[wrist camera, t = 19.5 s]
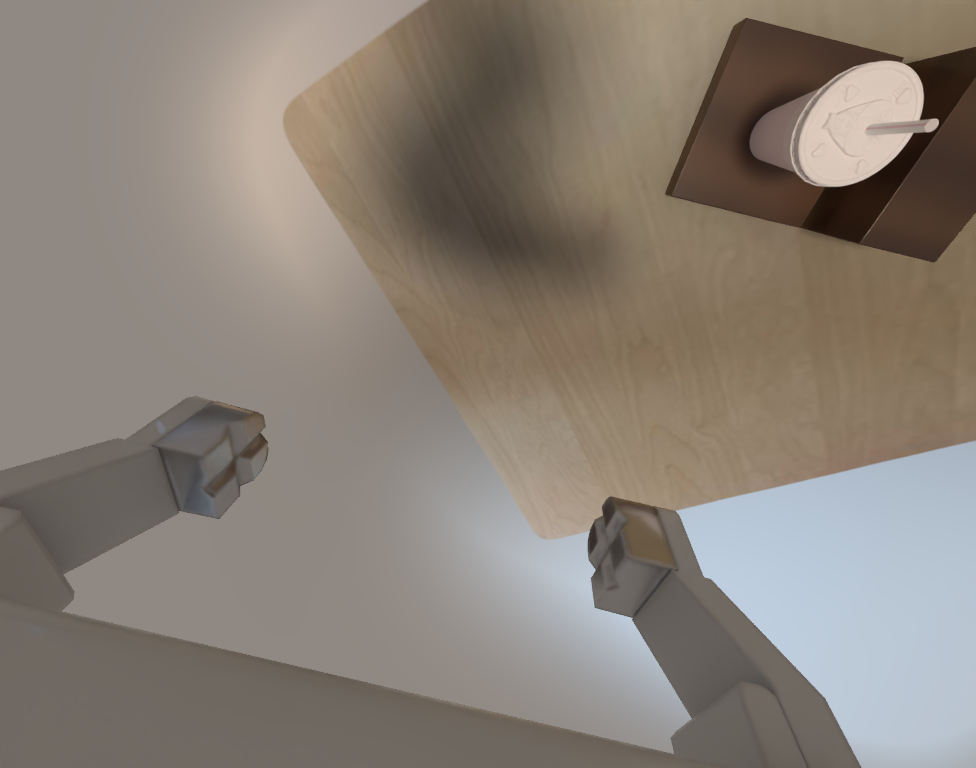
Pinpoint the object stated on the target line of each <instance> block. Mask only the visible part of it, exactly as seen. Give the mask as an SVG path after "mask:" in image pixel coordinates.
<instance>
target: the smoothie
mask: <svg viewBox="0 0 976 768" xmlns="http://www.w3.org/2000/svg"><path fill="white" fill-rule="evenodd" d="M923 102H924V93H923V86H922V83H921V80H920V78H919V77H918V75H917V74H916V72H915V71H914V70H913V69H912V68H910V67H909V66H907V65H905V64H903V63H900V62H896V61H879V62H870V63H866V64H862V65H858V66H854V67H852V68H850V69H848V70H846V71H844V72H842V73H840V74H839V75H837V76H835V77H834V78H833V79H832V80H830V81H829V82H828V83H826V84H825V85H824V86H823V87H821V88H819V89H817V90H815V91H813V92H810V93H808V94H806V95H804V96H802V97H799V98H797V99H795V100H793V101H791V102H789V103H786V104H784V105H782V106H780V107H778V108H775V109H773V110H771V111H769V112H768V113H766V114H765V115H764V116H763V117H762V118H761V119H760V120H759V121H758V122H757V124H756V125H755V127H754V128H753V131H752V133H751V136H750V150H751V152H752V154H753V155H754V156H755V157H756V158H757V159H759V160H762V161H764V162H767V163H770V164H773V165H776V166H778V167H781V168H784V169H787V170H790V171H792V172H795V173H796V174H797V175H798V176H800V177H801V178H802V179H803V180H804V181H805V182H807V183H810V184H812V185H815V186H823V187H839V186H846V185H850V184H854V183H857V182H859V181H862V180H864V179H866V178H868V177H870V176H872V175H873V174H875V173H876V172H878V171H879V170H881V169H882V168H883V167H885V166H886V165H887V164H888V163H889V162H891V161H892V160H893V159H894V158H895V157H896V156H897V155H898V154H899V152H900V151H901V150H902V149H903V148H904V146H905V145H906V144H907V142H908V141H909V139H910V138H911V136H912V134H913V133H921V132H931V131H933V130H935V129H936V128H937V126H938V124H939V121H938V119H927V120H920V116H921V113H922V109H923Z"/></svg>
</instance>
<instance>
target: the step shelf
mask: <svg viewBox="0 0 976 768" xmlns="http://www.w3.org/2000/svg"><path fill="white" fill-rule="evenodd" d="M902 60H903V57H899V56H895V55H891V54H887V53H884V52H880V51H876V50H872V49H868V48H864V47H860V46H856V45H852V44H848V43H844V42H840V41H836V40H832V39H828V38H824V37H820V36H816V35H812V34H808V33H804V32H800V31H796V30H792V29H788V28H784V27H780V26H776V25H772V24H768V23H764V22H760V21H756V20H752V19H748V18H745V19H744V20H742V21H741V22H739V23H738V24H736V25H735V26H734V28H733V30H732V33H731V35H730V37H729V40H728V42H727V45H726V47H725V50H724V52H723V55H722V57H721V59H720V62H719V64H718V67H717V69H716V72H715V74H714V76H713V79H712V81H711V84H710V86H709V89H708V91H707V94H706V96H705V98H704V101H703V103H702V106H701V108H700V111H699V113H698V115H697V118H696V120H695V123H694V125H693V128H692V130H691V132H690V135H689V137H688V140H687V142H686V145H685V147H684V150H683V152H682V154H681V157H680V159H679V162H678V164H677V167H676V169H675V171H674V174H673V176H672V179H671V181H670V184H669V186H668V189H667V191H666V193H665V194H666V195H669V196H673V197H677V198H681V199H685V200H689V201H693V202H697V203H701V204H705V205H709V206H713V207H717V208H721V209H726V210H730V211H734V212H738V213H742V214H746V215H750V216H754V217H758V218H762V219H766V220H770V221H774V222H778V223H782V224H786V225H790V226H795V227H799V228H804V229H807V230H811V231H814V232H818V233H822V234H825V235H829V236H832V237H836V238H839V239H843V240H847V241H850V242H854V243H857V244H861V245H865V246H869V247H873V248H877V249H881V250H885V251H889V252H893V253H898V254H902V255H906V256H910V257H914V258H918V259H922V260H926V261H930V262H935V261H936V260H937V259H938V258H939V257H940V255H941V254H942V253H943V252H944V250H945V249H946V248H947V247H948V246H949V244H950V243H951V242H952V241H953V239H954V238H955V237H956V236H957V235H958V233H959V232H960V231H961V230H962V228H963V227H964V226H965V225H966V224H967V222H968V221H969V220H970V219H971V217H972V216H973V215H974V214H975V213H976V47H973V48H969V49H965V50H961V51H957V52H953V53H949V54H944V55H940V56H936V57H932V58H928V59H924V60H920V61H916V62H912V63H908V64H905V65H907V66H909V67H910V68H912V69H913V70H914V71H915V72H916V74H917V75H918V77H919V78H920V80H921V83H922V86H923V93H924V102H923V109H922V113H921V116H920V120H927V119H938V121H939V124H938V126H937V128H936V129H935V130H933V131H931V132H921V133H913V134H912V136H911V138H910V139H909V141H908V142H907V144H906V145H905V146H904V148H903V149H902V150H901V151H900V152H899V154H898V155H897V156H896V157H895V158H894V159H893V160H892V161H891V162H889V163H888V164H887V165H886V166H885V167H883V168H882V169H881V170H879V171H878V172H876V173H875V174H873V175H872V176H870V177H868V178H866V179H864V180H862V181H859V182H857V183H854V184H850V185H846V186H839V187H823V186H815V185H812V184H810V183H807V182H805V181H804V180H803V179H802V178H801V177H800V176H798V175H797V174H796V173H795V172H792V171H790V170H787V169H784V168H781V167H778V166H776V165H773V164H770V163H767V162H764V161H762V160H759V159H757V158H756V157H755V156H754V155H753V154H752V152H751V150H750V136H751V133H752V131H753V128H754V127H755V125H756V124H757V122H758V121H759V120H760V119H761V118H762V117H763V116H764V115H765V114H766V113H768V112H769V111H771V110H773V109H775V108H778V107H780V106H782V105H784V104H786V103H789V102H791V101H793V100H795V99H797V98H799V97H802V96H804V95H806V94H808V93H810V92H813V91H815V90H817V89H819V88H821V87H823V86H824V85H825V84H826V83H828V82H829V81H830V80H832V79H833V78H834V77H835V76H837V75H839V74H840V73H842V72H844V71H846V70H848V69H850V68H852V67H854V66H858V65H862V64H866V63H870V62H879V61H896V62H900V63H901V62H902Z"/></svg>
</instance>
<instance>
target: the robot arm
mask: <svg viewBox="0 0 976 768" xmlns="http://www.w3.org/2000/svg"><path fill="white" fill-rule="evenodd" d="M264 428H265V420H264V416H263V415H262V414H260V413H258V412H255V411H251V410H247V409H243V408H240V407H236V406H232V405H228V404H225V403H221V402H215V401H211V400H207V399H204V398H200V397H196V396H194V397H189V398H186V399H185V400H183V401H181V402H180V403H178V404H177V405H176V406H174V407H173V408H171V409H170V410H168V411H167V412H165V413H164V414H162V415H161V416H159V417H158V418H156V419H155V420H153V421H152V422H150V423H149V424H147V425H146V426H145V427H143V428H142V429H140V430H139V431H137V432H136V433H134V434H133V435H131V436H130V437H128V438H127V439H125V440H123V439H118V438H117V439H113V440H109V441H106V442H103V443H99V444H95V445H91V446H88V447H84V448H81V449H77V450H74V451H70V452H66V453H63V454H59V455H56V456H52V457H49V458H45V459H42V460H38V461H34V462H31V463H28V464H24V465H20V466H16V467H13V468H9V469H6V470H3V471H0V768H861V766H860V764H859V762H858V760H857V759H856V757H855V755H854V753H853V751H852V749H851V747H850V745H849V743H848V742H847V739H846V738H845V736H844V734H843V732H842V730H841V728H840V726H839V724H838V722H837V721H836V718H835V717H834V715H833V713H832V711H831V709H830V708H829V705H828V703H827V701H826V699H825V698H824V697H823V696H822V695H821V694H820V693H819V692H818V691H817V690H816V689H815V687H814V686H813V685H811V683H810V682H808V680H807V679H806V678H805V677H804V676H803V675H802V674H801V673H800V672H799V671H798V670H797V669H796V668H795V667H794V666H793V665H792V663H791V662H790V661H789V660H788V659H787V658H786V657H785V656H784V655H783V654H782V653H781V652H780V651H779V650H778V649H777V648H776V647H775V646H774V645H773V644H772V643H771V642H770V640H769V639H767V637H766V636H765V635H764V634H763V633H762V632H761V631H760V630H759V629H758V628H757V627H756V626H755V625H754V624H753V623H752V622H751V621H750V620H749V619H748V618H747V617H746V615H745V614H744V613H743V612H742V611H741V610H740V609H739V608H738V607H737V606H736V605H735V604H734V603H733V602H732V601H731V600H730V599H729V598H728V597H727V596H726V595H725V594H724V592H722V591H721V589H720V588H718V587H717V585H716V584H715V583H714V582H713V581H712V580H711V579H708V578H704V576H703V574H702V572H701V569H700V566H699V564H698V561H697V559H696V556H695V554H694V551H693V549H692V546H691V544H690V541H689V539H688V537H687V534H686V531H685V529H684V526H683V524H682V521H681V519H680V516H679V515H678V514H677V512H676V511H673V510H669V509H664V508H660V507H656V506H650V505H646V504H642V503H637V502H633V501H629V500H624V499H620V498H616V497H611V496H610V497H609V498H608V499H606V501H605V502H604V504H603V506H602V511H603V516H601V517H599V518H597V519H595V521H594V523H593V525H592V527H591V529H590V533H589V538H588V557H589V561H590V562H591V564H592V565H593V566H594V568H595V569H596V571H595V573H594V574H593V576H592V578H591V582H592V590H593V598H594V605H595V608H598V609H601V610H605V611H609V612H613V613H616V614H620V615H624V616H628V617H631V618H633V619H632V620H633V622H634V624H635V625H636V627H637V629H638V630H639V632H640V634H641V635H642V637H643V639H644V640H645V642H646V644H647V645H648V647H649V648H650V650H651V652H652V653H653V655H654V657H655V658H656V660H657V662H658V663H659V665H660V667H661V668H662V670H663V672H664V673H665V675H666V677H667V678H668V680H669V682H670V683H671V685H672V686H673V688H674V690H675V691H676V693H677V695H678V696H679V698H680V700H681V701H682V703H683V704H684V706H685V708H686V709H687V711H688V713H689V715H690V716H691V718H692V719H691V720H690V721H689V722H687V723H686V724H685V725H683V726H682V727H681V728H680V729H678V730H677V731H676V732H675V733H674V735H673V736H672V737H671V741H672V745H673V750H674V754H671V753H666V752H662V751H658V750H653V749H649V748H645V747H641V746H637V745H632V744H628V743H624V742H619V741H615V740H610V739H607V738H602V737H598V736H594V735H589V734H585V733H581V732H576V731H572V730H568V729H564V728H559V727H555V726H550V725H547V724H542V723H538V722H533V721H529V720H525V719H521V718H517V717H512V716H508V715H504V714H499V713H495V712H491V711H486V710H482V709H478V708H474V707H469V706H465V705H461V704H457V703H452V702H448V701H443V700H439V699H435V698H430V697H427V696H422V695H418V694H413V693H409V692H405V691H401V690H397V689H392V688H388V687H384V686H379V685H375V684H371V683H367V682H362V681H358V680H353V679H349V678H345V677H341V676H337V675H332V674H328V673H324V672H319V671H315V670H311V669H307V668H302V667H297V666H293V665H289V664H285V663H281V662H276V661H272V660H268V659H264V658H259V657H255V656H251V655H246V654H242V653H238V652H234V651H229V650H225V649H221V648H216V647H212V646H208V645H204V644H199V643H194V642H191V641H186V640H182V639H178V638H173V637H169V636H165V635H161V634H156V633H152V632H148V631H143V630H139V629H134V628H131V627H126V626H122V625H117V624H113V623H109V622H105V621H100V620H96V619H92V618H87V617H83V616H79V615H75V614H70V613H66V612H62V610H63V609H64V608H65V607H66V606H67V605H68V604H69V603H70V602H71V601H72V600H73V599H74V590H73V589H72V587H71V586H70V584H69V583H68V582H67V580H66V578H65V577H64V575H63V574H65V573H67V572H69V571H71V570H73V569H74V568H76V567H78V566H80V565H82V564H84V563H86V562H88V561H90V560H91V559H93V558H95V557H97V556H99V555H101V554H103V553H105V552H107V551H108V550H110V549H112V548H114V547H116V546H118V545H120V544H122V543H124V542H125V541H127V540H129V539H131V538H133V537H135V536H137V535H139V534H141V533H142V532H144V531H146V530H148V529H150V528H152V527H154V526H156V525H158V524H159V523H161V522H163V521H165V520H167V519H169V518H171V517H173V516H175V515H177V514H178V513H179V511H183V512H187V513H192V514H198V515H202V516H207V517H212V518H217V519H220V517H221V516H222V515H223V514H224V513H225V512H226V511H227V510H228V509H229V507H230V506H231V505H232V504H233V503H234V502H235V501H236V500H237V498H238V497H239V496H240V486H242V485H244V484H246V483H249V482H251V481H253V480H254V479H255V478H256V477H257V475H258V474H259V473H260V472H261V470H262V468H263V466H264V464H265V462H266V460H267V456H268V442H267V440H266V439H265V438H264V437H263V436H262V434H261V433H260V432H261V431H262V430H263V429H264Z"/></svg>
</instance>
